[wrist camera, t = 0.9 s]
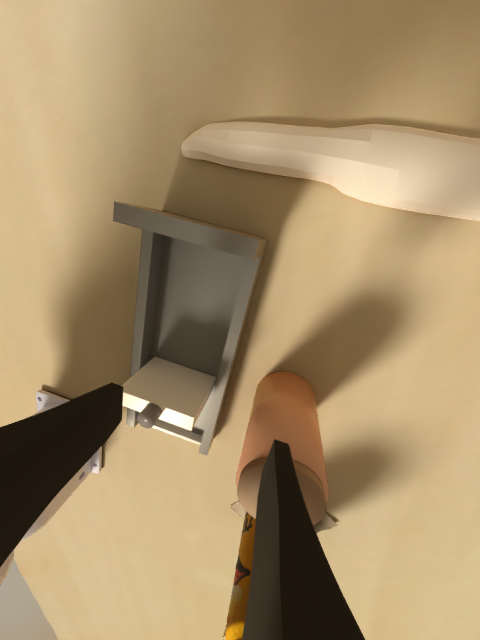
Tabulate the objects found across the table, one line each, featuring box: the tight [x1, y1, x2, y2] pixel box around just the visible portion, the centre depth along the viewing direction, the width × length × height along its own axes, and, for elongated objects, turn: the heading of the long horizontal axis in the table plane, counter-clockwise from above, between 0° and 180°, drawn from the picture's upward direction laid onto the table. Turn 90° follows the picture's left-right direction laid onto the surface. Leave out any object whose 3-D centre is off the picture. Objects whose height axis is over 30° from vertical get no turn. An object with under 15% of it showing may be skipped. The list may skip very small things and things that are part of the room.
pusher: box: [122, 357, 216, 431], centre depth 18 cm, size 1×6×6 cm, turn 76°
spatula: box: [181, 121, 480, 221], centre depth 13 cm, size 28×4×2 cm, turn 78°
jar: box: [236, 372, 329, 525], centre depth 16 cm, size 5×5×9 cm
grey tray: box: [113, 201, 268, 455], centre depth 18 cm, size 19×8×5 cm, turn 166°
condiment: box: [225, 501, 338, 640], centre depth 20 cm, size 7×8×12 cm
